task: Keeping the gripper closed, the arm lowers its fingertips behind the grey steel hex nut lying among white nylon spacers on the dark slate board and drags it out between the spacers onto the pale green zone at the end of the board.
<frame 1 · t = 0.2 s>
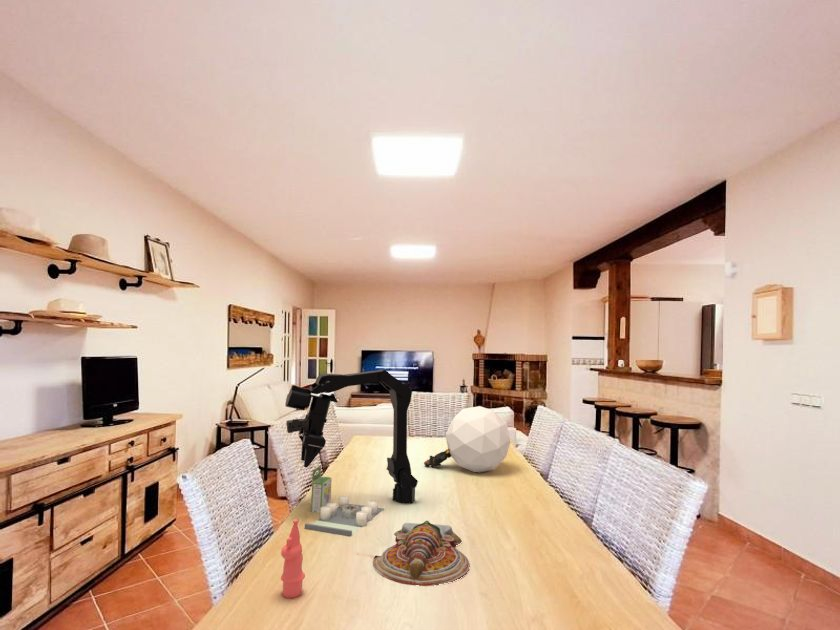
hand: (304, 463, 148), 15 cm above the table, tool pointing down, fingers open, 9 cm apart
figurine: (291, 593, 101), on the table
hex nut: (350, 515, 144), point 1 cm above the table, touching slate board
decorative mask: (422, 559, 120), on the table
light fixture: (466, 470, 208), on the table
spacers: (350, 515, 144), resting on slate board
ink box: (320, 512, 150), on the table
slate board: (347, 521, 143), on the table
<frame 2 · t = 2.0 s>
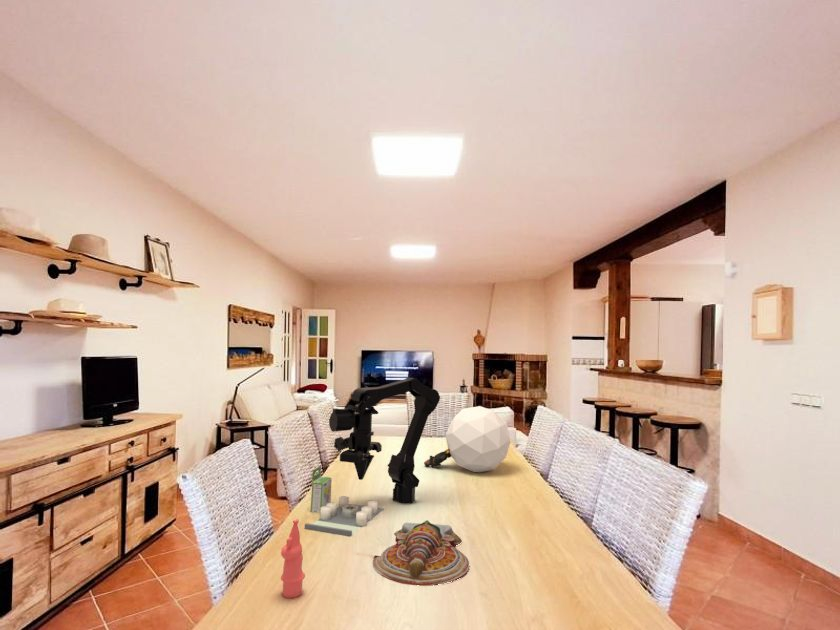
hand: (360, 479, 151), 10 cm above the table, tool pointing down, fingers closed
nothing on the table moved.
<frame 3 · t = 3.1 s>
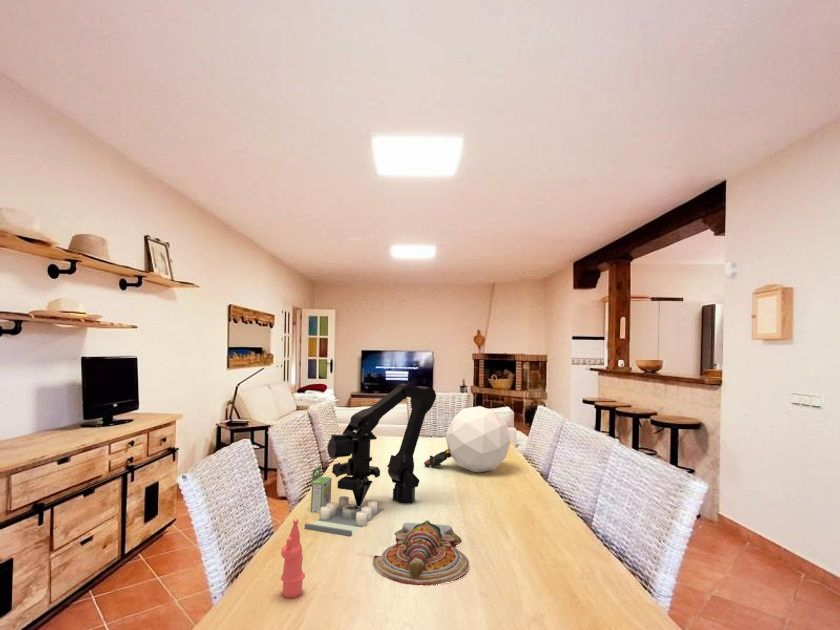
hand: (358, 505, 150), 2 cm above the table, tool pointing down, fingers closed
nothing on the table moved.
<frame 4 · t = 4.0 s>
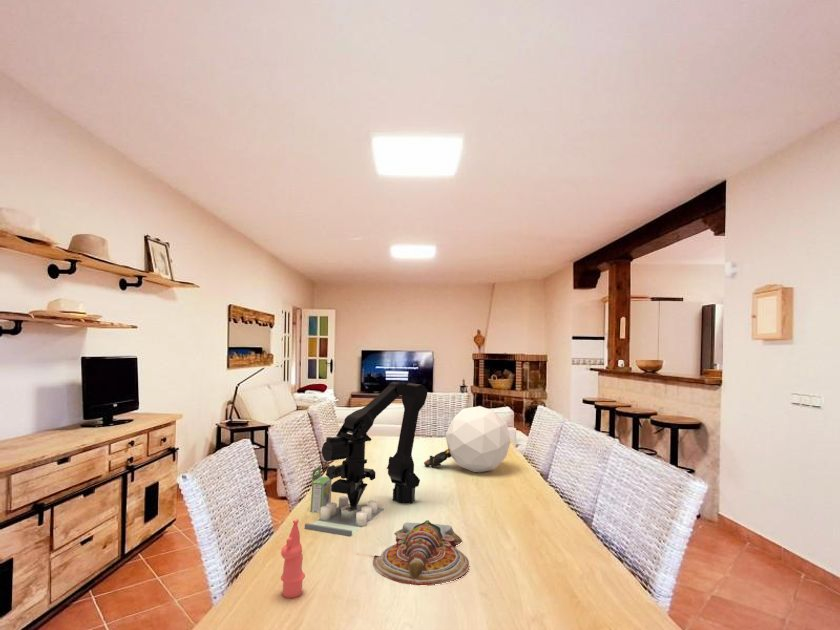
hand: (353, 509, 147), 2 cm above the table, tool pointing down, fingers closed
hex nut: (348, 516, 144), point 1 cm above the table, touching gripper
everything else where it was.
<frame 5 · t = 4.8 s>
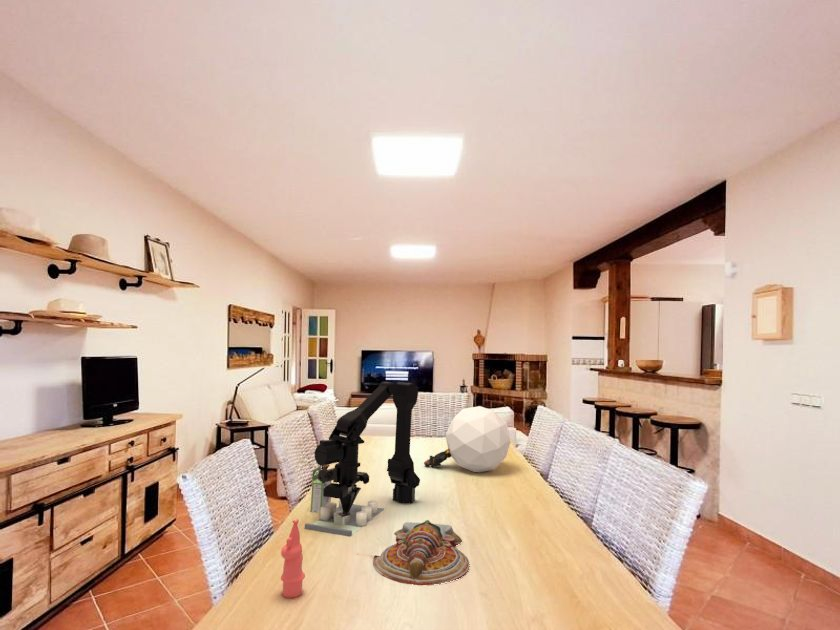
hand: (346, 513, 142), 2 cm above the table, tool pointing down, fingers closed
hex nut: (341, 522, 139), point 1 cm above the table, touching gripper, slate board
everything else where it was.
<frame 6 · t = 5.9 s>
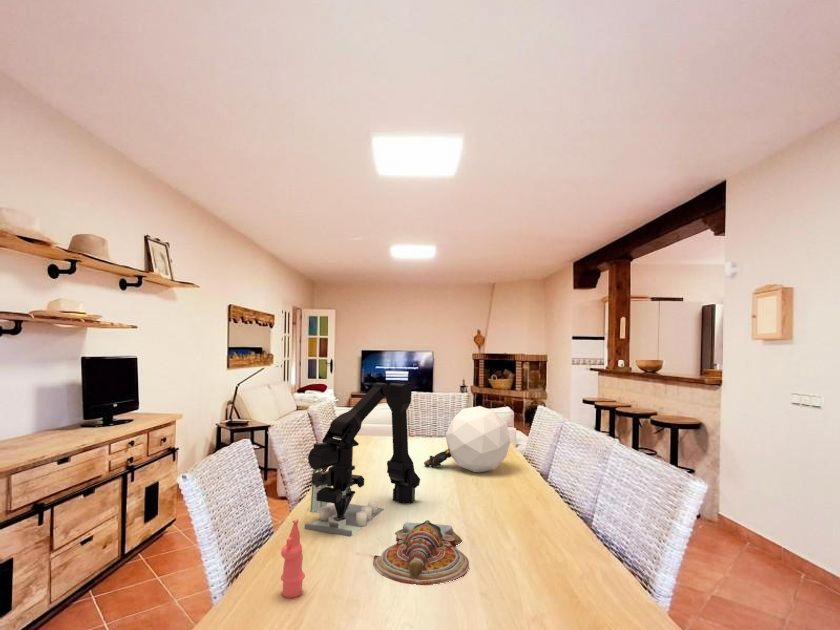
hand: (340, 518, 139), 2 cm above the table, tool pointing down, fingers closed
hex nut: (336, 526, 136), point 1 cm above the table, touching gripper, slate board
everything else where it was.
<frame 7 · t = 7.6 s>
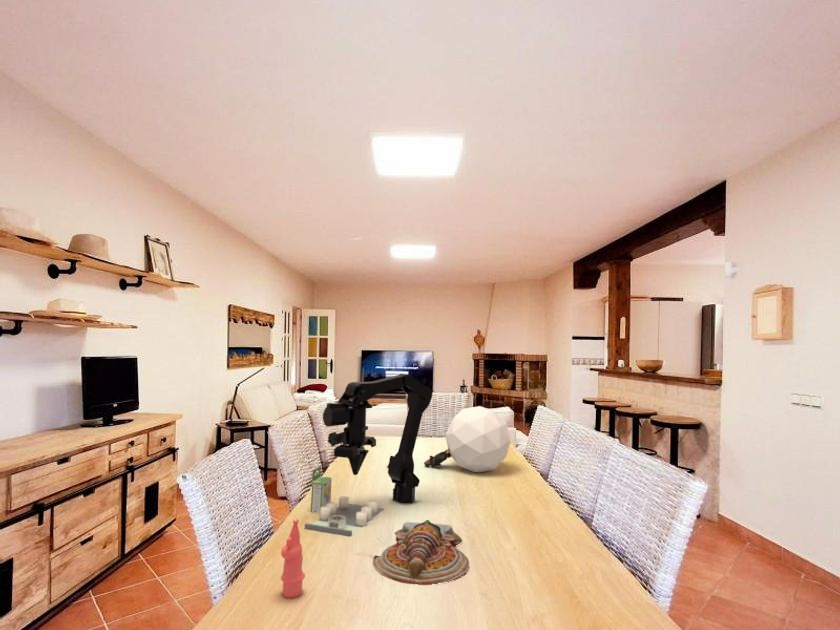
hand: (355, 474, 149), 12 cm above the table, tool pointing down, fingers closed
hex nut: (336, 526, 136), point 1 cm above the table, touching slate board
everything else where it was.
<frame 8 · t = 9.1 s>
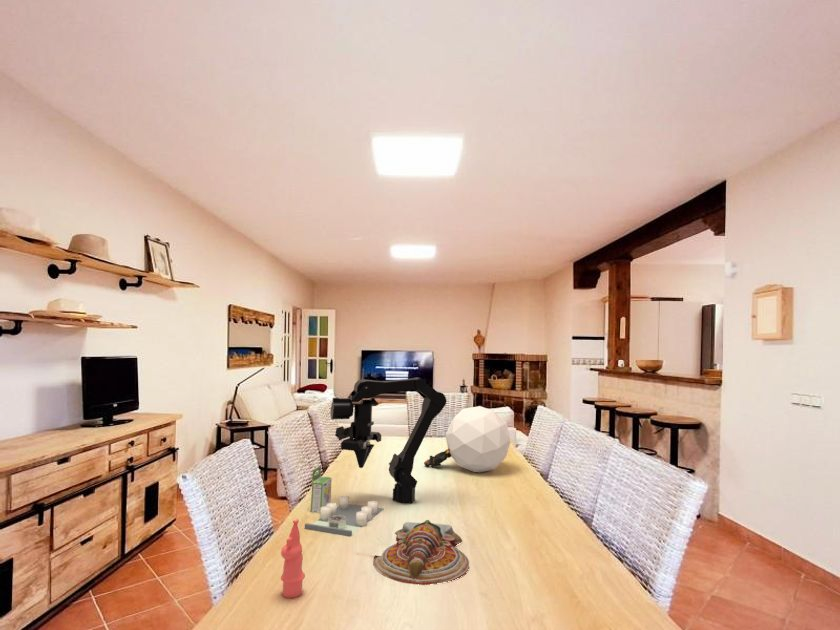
hand: (361, 467, 156), 13 cm above the table, tool pointing down, fingers closed
nothing on the table moved.
at the end: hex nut inside the target area (1.3 cm from its centre), point 1.0 cm above the table; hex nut moved 9.3 cm from its start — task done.
